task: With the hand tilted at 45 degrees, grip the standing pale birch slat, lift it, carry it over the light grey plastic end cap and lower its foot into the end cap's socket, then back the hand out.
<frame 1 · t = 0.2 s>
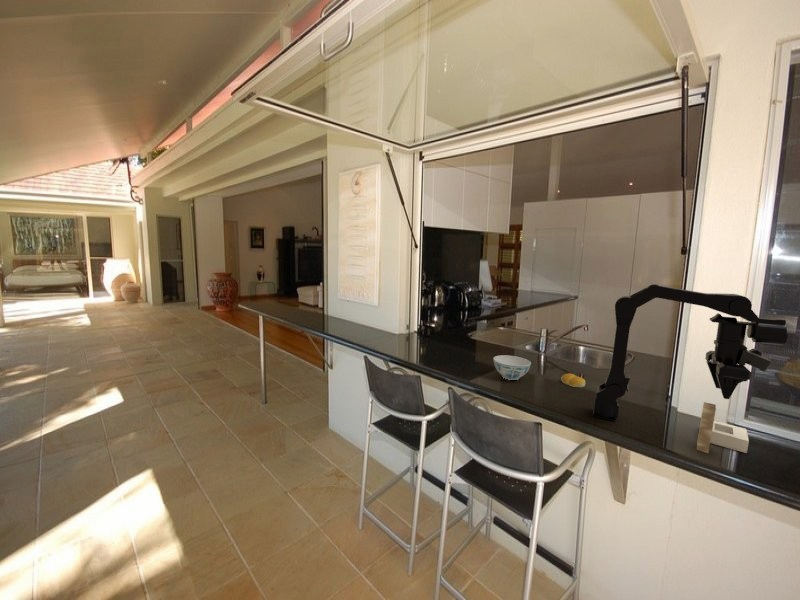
hand: (722, 393, 101), 15 cm above the worktop, tool pointing down, fingers open, 9 cm apart
end cap: (721, 439, 104), on the worktop
bread roll: (572, 384, 147), on the worktop
slat: (702, 448, 99), on the worktop
chinaware: (510, 378, 150), on the worktop
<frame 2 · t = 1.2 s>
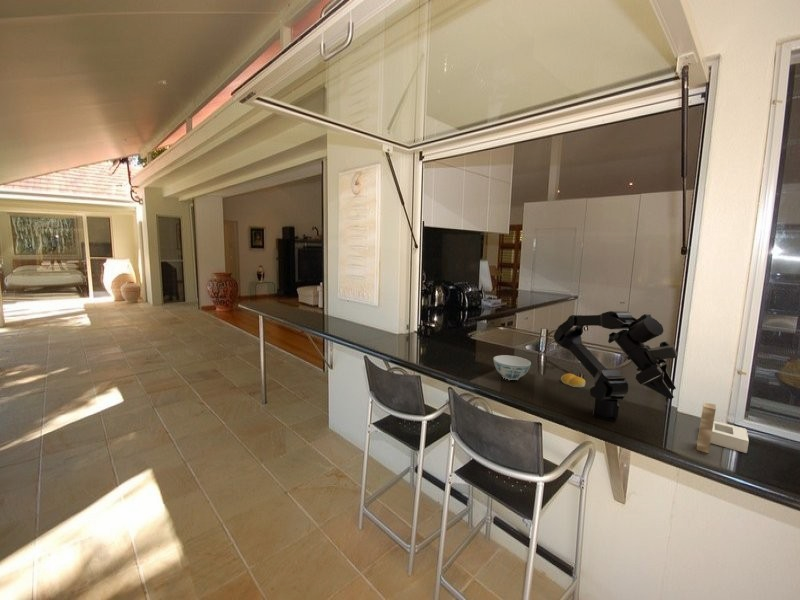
hand: (673, 393, 102), 13 cm above the worktop, tool tilted 45°, fingers open, 9 cm apart
nothing on the worktop moved.
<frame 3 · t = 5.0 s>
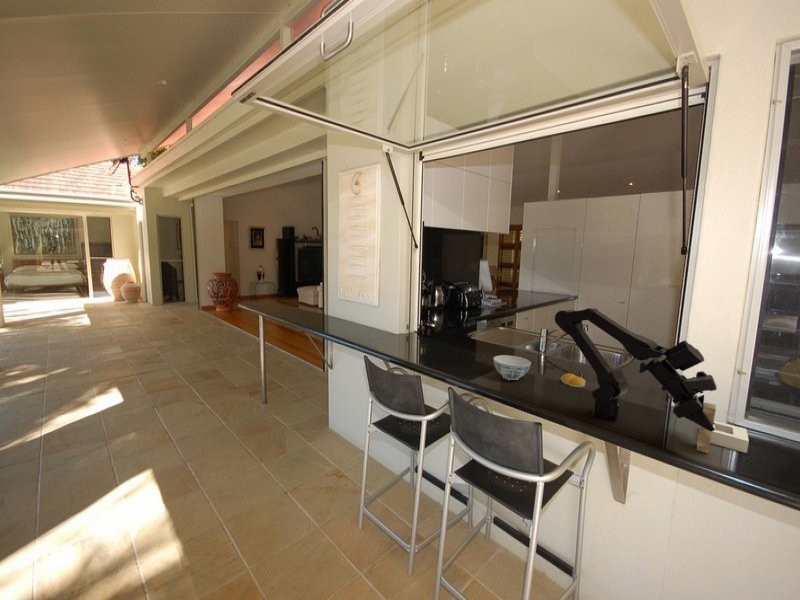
hand: (713, 427, 97), 7 cm above the worktop, tool tilted 45°, fingers closed on slat, 4 cm apart
slat: (702, 448, 99), on the worktop, touching gripper
everything else where it was.
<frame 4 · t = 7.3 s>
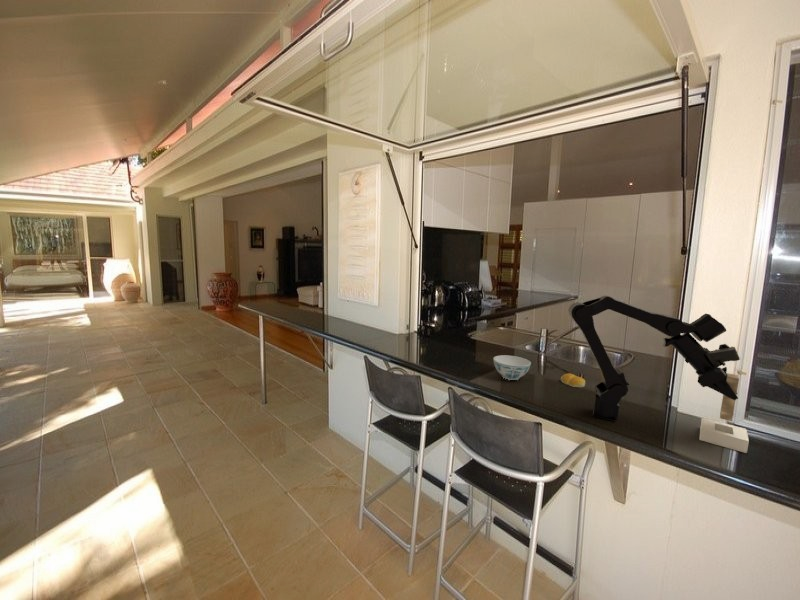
hand: (736, 396, 101), 14 cm above the worktop, tool tilted 45°, fingers closed on slat, 4 cm apart
slat: (725, 417, 103), point 7 cm above the worktop, touching gripper
everything else where it was.
when the fingers open (8 cm above the worktop, at t = 9.4 s): slat drops 1 cm, resting in end cap.
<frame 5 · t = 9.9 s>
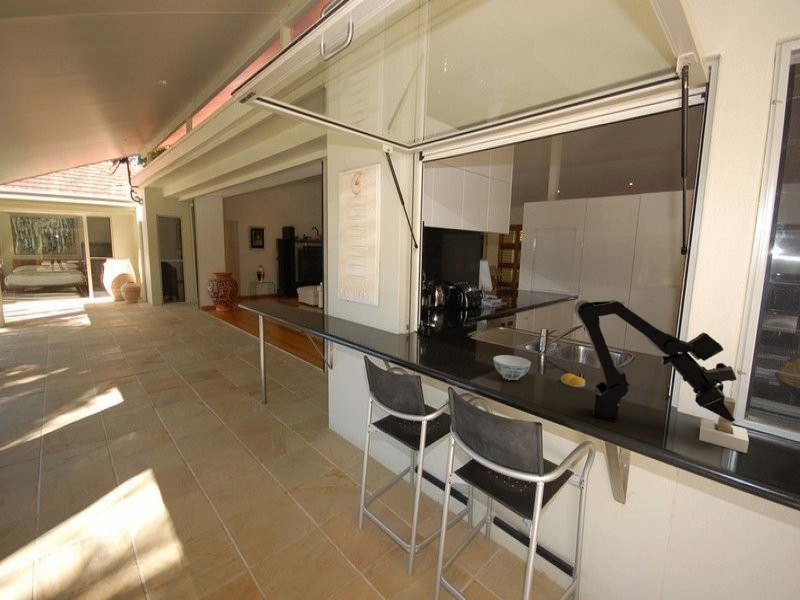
hand: (732, 416, 102), 8 cm above the worktop, tool tilted 45°, fingers open, 9 cm apart
slat: (721, 439, 104), resting in end cap
everything else where it was.
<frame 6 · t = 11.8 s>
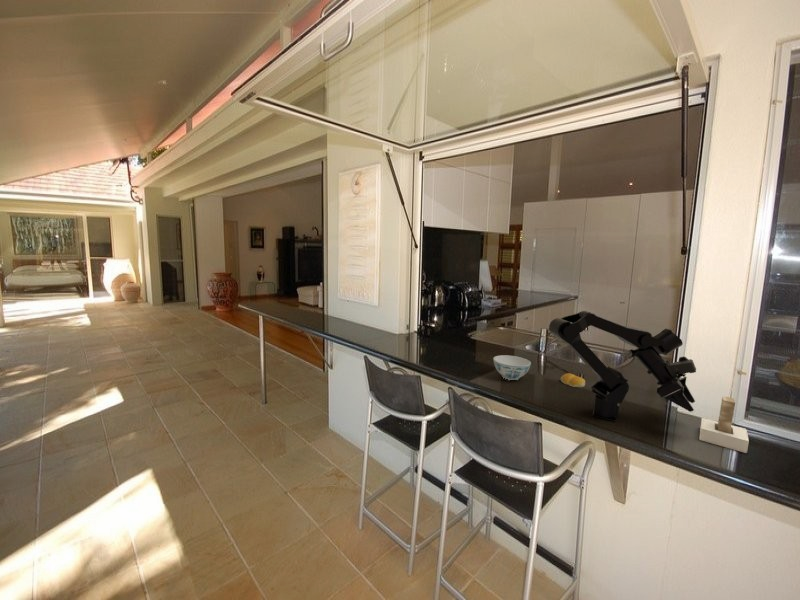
hand: (693, 406, 108), 8 cm above the worktop, tool tilted 45°, fingers open, 9 cm apart
nothing on the worktop moved.
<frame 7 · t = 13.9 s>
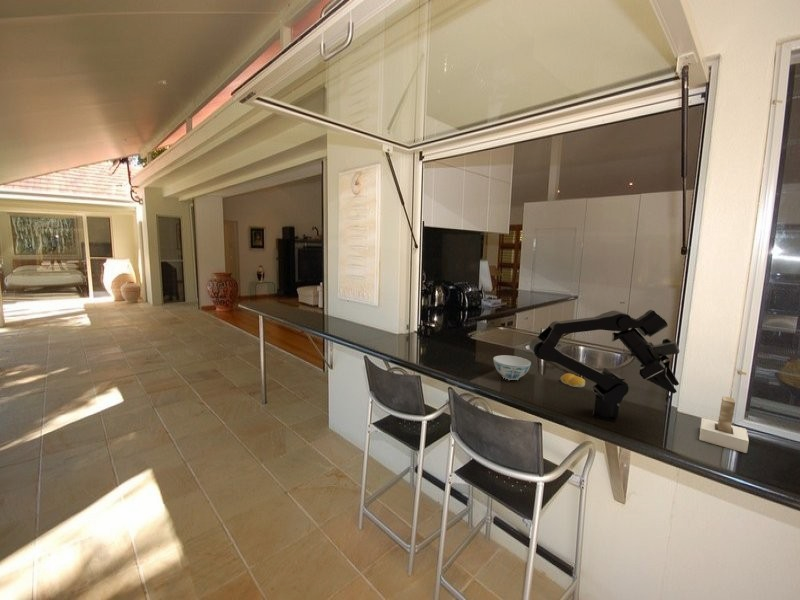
hand: (676, 388, 106), 14 cm above the worktop, tool tilted 45°, fingers open, 9 cm apart
nothing on the worktop moved.
at the end: slat 0.0 cm off-centre on the end cap, point 0.0 cm above the end cap's base; slat tilted 0°; the gripper is holding nothing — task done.
